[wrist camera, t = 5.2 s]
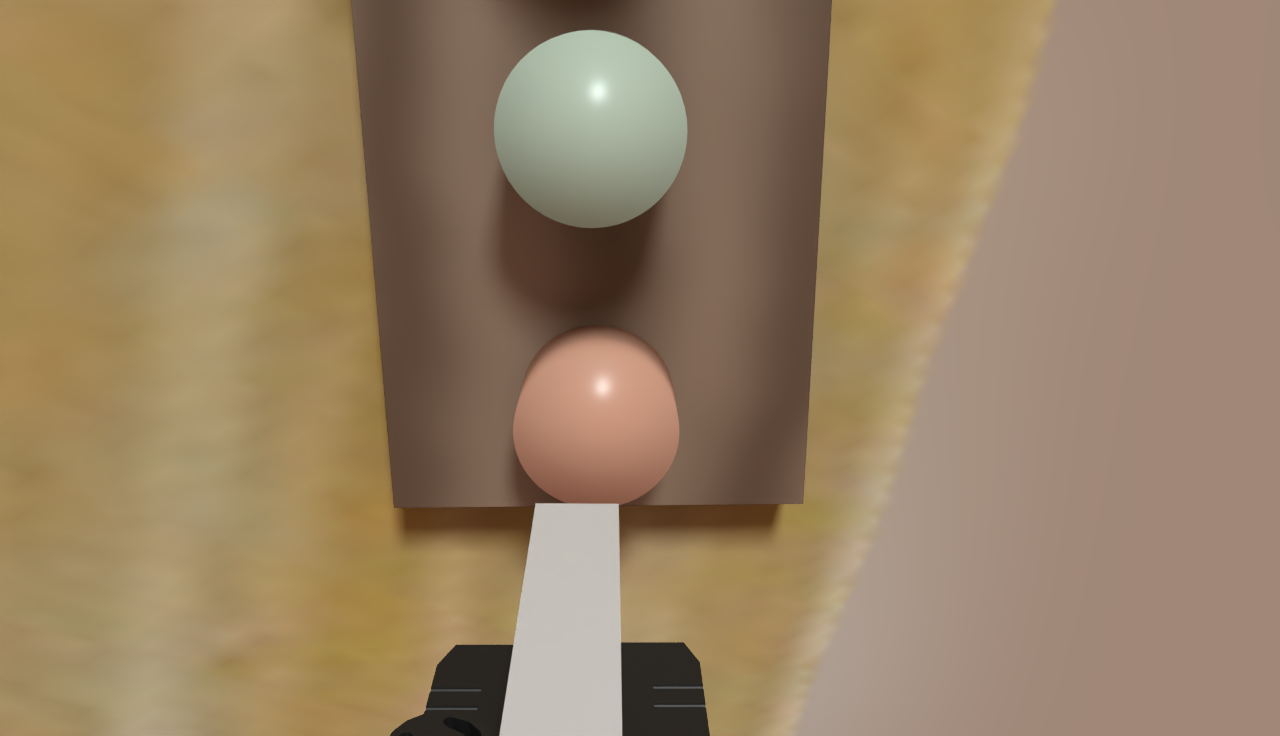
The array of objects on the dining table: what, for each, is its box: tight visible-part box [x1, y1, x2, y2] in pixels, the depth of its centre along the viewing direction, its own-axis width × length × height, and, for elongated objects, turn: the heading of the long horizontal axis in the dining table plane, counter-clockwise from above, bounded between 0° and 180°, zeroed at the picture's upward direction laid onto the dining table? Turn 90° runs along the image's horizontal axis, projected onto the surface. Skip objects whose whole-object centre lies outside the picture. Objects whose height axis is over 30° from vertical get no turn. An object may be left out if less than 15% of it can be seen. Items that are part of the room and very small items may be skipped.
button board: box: [351, 0, 832, 508], centre depth 32 cm, size 14×26×3 cm, turn 0°
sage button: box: [494, 30, 687, 228], centre depth 28 cm, size 5×5×3 cm
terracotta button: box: [513, 325, 679, 505], centre depth 32 cm, size 5×5×3 cm
